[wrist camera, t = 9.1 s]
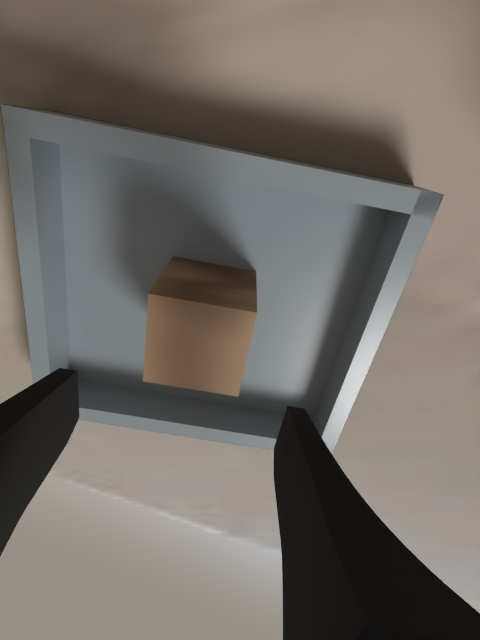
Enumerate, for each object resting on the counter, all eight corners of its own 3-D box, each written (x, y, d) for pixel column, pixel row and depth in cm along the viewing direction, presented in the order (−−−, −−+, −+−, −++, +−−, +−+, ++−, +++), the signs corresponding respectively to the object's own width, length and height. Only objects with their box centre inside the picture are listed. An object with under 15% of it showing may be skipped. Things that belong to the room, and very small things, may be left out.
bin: (414, 185, 17) (444, 194, 15) (320, 424, 25) (329, 459, 22) (41, 109, 16) (0, 104, 14) (60, 381, 24) (36, 413, 21)
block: (256, 271, 19) (257, 312, 14) (241, 341, 21) (238, 396, 17) (172, 256, 19) (148, 293, 14) (166, 328, 21) (142, 381, 16)
